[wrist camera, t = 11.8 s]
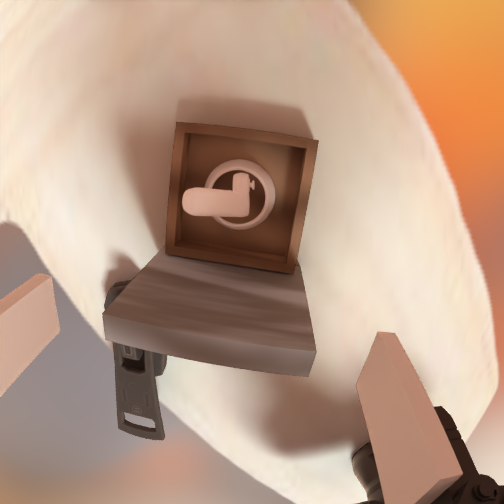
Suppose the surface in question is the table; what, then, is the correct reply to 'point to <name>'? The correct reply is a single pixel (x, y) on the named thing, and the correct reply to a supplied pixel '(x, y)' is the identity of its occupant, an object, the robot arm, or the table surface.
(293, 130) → the table surface
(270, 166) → the open wooden box
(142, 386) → the zipper pull
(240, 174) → the pink door lever handle
